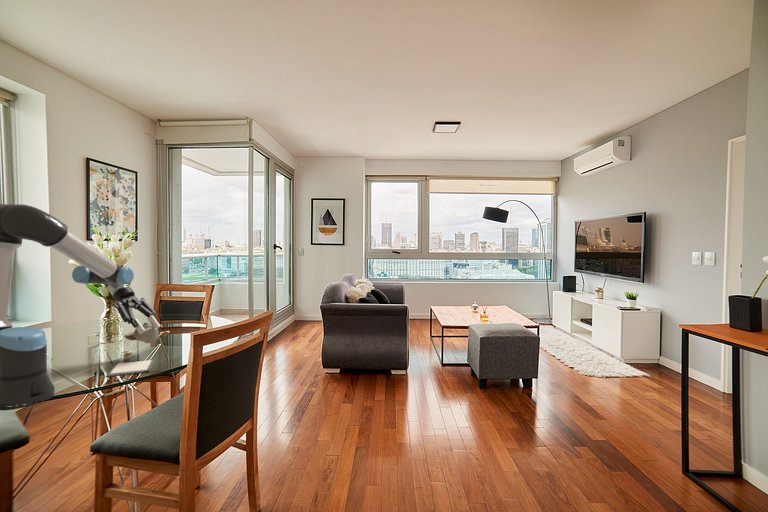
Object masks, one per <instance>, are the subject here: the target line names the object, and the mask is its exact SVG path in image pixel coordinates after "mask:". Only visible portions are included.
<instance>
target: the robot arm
mask: <svg viewBox="0 0 768 512" xmlns="http://www.w3.org/2000/svg"><path fill="white" fill-rule="evenodd" d="M69 230H70V229H69V227H68V225H66V224H65V223H64V222H62V221H61V220H59V219H58V218H56V217H54V216H53V215H51V214H50V213H47V212H46V211H44V210H42V209H40V208H37V207H34V206H32V205H28V204H21V203H20V204H9V203H0V411H10V410H11V411H12V410H17V409H23V408H27V407H32V406H35V405H38V404H41V403H44V402H45V400H46V401H47V400H50V399H51V398H53V397H54V396H55V393H56V392H55V385H54V384H53V381H52V380H51V377H50V376H49V374H48V368H47V367H48V364H47V363H48V360H47V359H48V358H47V357H48V356H47V355H48V353H47V347H48V345H47V342H48V341H47V340H48V339H47V337H46V332H45V331H44V330H43V329H41V328H39V327H34V326H15V327H13V323H11V322H10V321H9V320H8V312H9V306H10V305H9V303H10V295H11V287H12V279H13V267H14V260H15V252H16V250H17V249H19V248H20V247H22V244H23V240H27V241H32V242H35V243H37V244H40V245H42V246H43V247H45V248H46V247H51V248H52V249H54V250H56V251H57V252H59V253H61V254H62V255H64V256H65V257H68V258H69V259H70V260H71V261H74V262H76V263H77V264H79V265H78V266H76V267H75V268H73V270H72V272H71V273H72V274H71V277H72V280H73V281H74V282H75V283H77V284H82V285H84V284H92V285H93V284H94V285H95V284H97V285H103V286H104V287H105V288H106V289H107V291H108V293H110V294H111V296H112V298H113V299H114V301H116V302H115V303H114V304H113V307H114V308H115V309H116V310H117V312H118V314H119V316H120V317H121V319H122V322H123V323H127V324H128V325H132V327H133V328H135V329H137V331H138V332H139V333H140V334H142V333H143V332H144V331H145V329H144V327H143V326H142V325H143V324H141V322H140V321H139V320H138V318H135V315H134V312H133V309H135V310H138V311H139V312H140V313H141V314H142V315H144V316H145V317H147V321H148V322H149V324H150V325H151V327H152V328H153V327H154V328H156V329H157V330H158V329H159V328H160V327H161V324H160V323H159V322H158V320H157V317H155V314H156V313H157V312H156V311H155V309H154V308H153V307H152V306H151V305H150V304H149V303H148V302H147V301H146V300H145V297H141V298H138V297H137V296H136V295H135V291H134V290H133V289H132V288H131V287H130V285H129V284H131V283H132V282H133V280H134V278H135V272H134V271H133V269H132V268H130V267H126V266H121V265H119V264H117V263H116V262H114V261H113V260H111V259H110V258H109V257H107V256H106V255H104V254H102V253H101V252H100V251H98V250H97V249H96V248H94V247H92V246H91V245H90V244H88V243H87V242H85V241H84V240H82V238H80V237H78V236H77V235H75V234H74V233H72V232H71V231H69ZM130 280H131V281H130ZM38 401H42V402H38ZM33 402H37V403H33ZM28 403H29V404H28ZM22 404H26V405H22ZM15 405H18V406H15ZM4 406H12V407H4Z"/></svg>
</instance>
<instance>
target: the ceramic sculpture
mask: <svg viewBox="0 0 768 512" xmlns="http://www.w3.org/2000/svg"><path fill="white" fill-rule="evenodd" d="M141 325H142V326H143V327H144V329H145V331H144V332H143V333H142V334H140V333H139V332H138V331H137V329H136V328H135V330H134V332H133V333H131V334H129V335H124V338H125V339H127V340H129V341H139V342H143V343H144V344H152V343H154V342H157V341H158V339H159V337H160V332H159V330H158V329H156V328H154V327H153V326H152V324H151V323H147V322H143V324H141Z"/></svg>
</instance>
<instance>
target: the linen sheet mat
mask: <svg viewBox="0 0 768 512" xmlns="http://www.w3.org/2000/svg"><path fill="white" fill-rule="evenodd" d="M154 363H155V359H150V360H149V359H148V360H147V359H146V360H140V361H139V360H138V361H129V362H118V363H115V364H114V365H113V367H112V368H111V369H110V370H109V371H108V373H107V374H106V375H105V377H107V378H108V377H118V376H126V375H134V373H137V374H141V373H140V372H143V371H144V370H147V369H148V368H151V369H152V367H153V366H154ZM151 366H152V367H151Z"/></svg>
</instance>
